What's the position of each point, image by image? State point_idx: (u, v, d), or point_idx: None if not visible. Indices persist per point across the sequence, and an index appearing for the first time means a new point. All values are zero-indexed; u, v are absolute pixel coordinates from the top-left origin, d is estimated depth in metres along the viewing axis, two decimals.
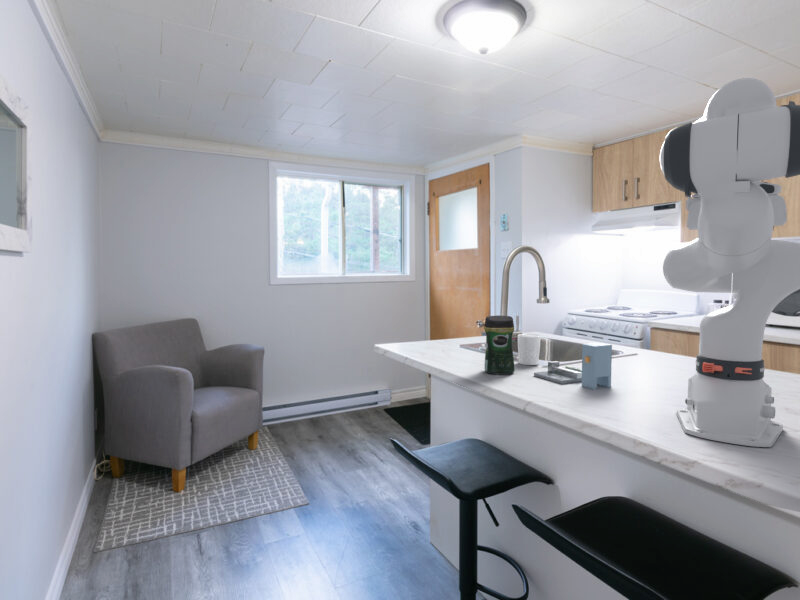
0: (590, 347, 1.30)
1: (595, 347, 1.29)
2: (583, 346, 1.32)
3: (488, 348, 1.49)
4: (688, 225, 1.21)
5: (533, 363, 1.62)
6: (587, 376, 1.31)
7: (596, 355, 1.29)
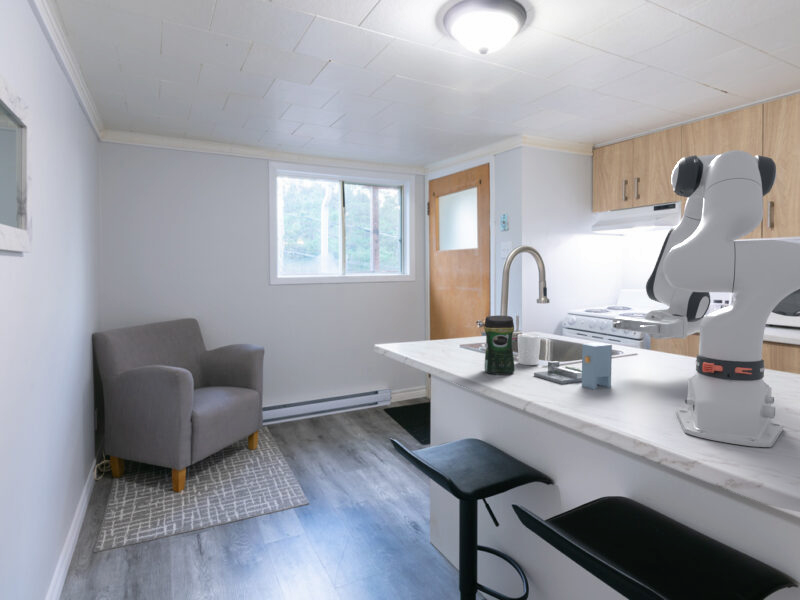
0: (590, 347, 1.30)
1: (595, 347, 1.29)
2: (583, 346, 1.32)
3: (488, 348, 1.49)
4: (614, 317, 1.48)
5: (533, 363, 1.62)
6: (587, 376, 1.31)
7: (596, 355, 1.29)
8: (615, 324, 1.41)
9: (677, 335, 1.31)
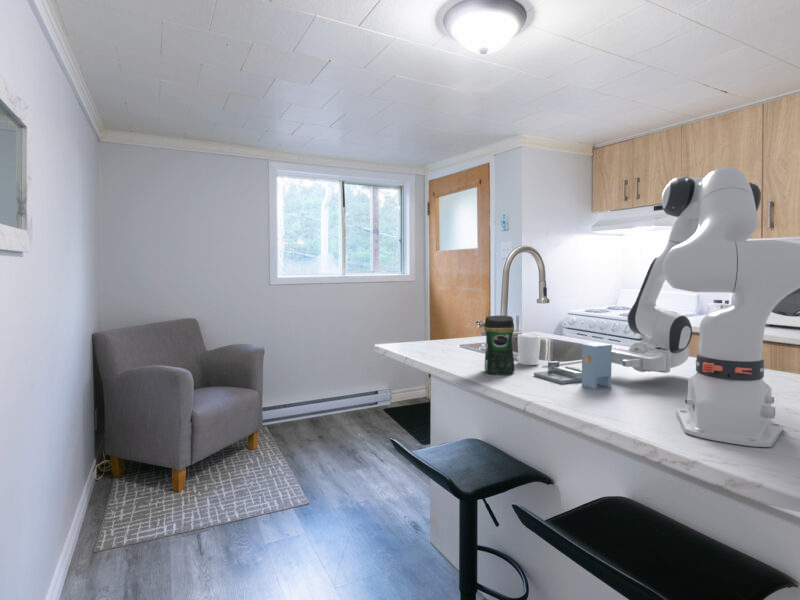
0: (590, 347, 1.30)
1: (595, 347, 1.29)
2: (583, 346, 1.32)
3: (488, 348, 1.49)
4: None
5: (533, 363, 1.62)
6: (587, 376, 1.31)
7: (596, 355, 1.29)
8: None
9: (660, 370, 1.29)
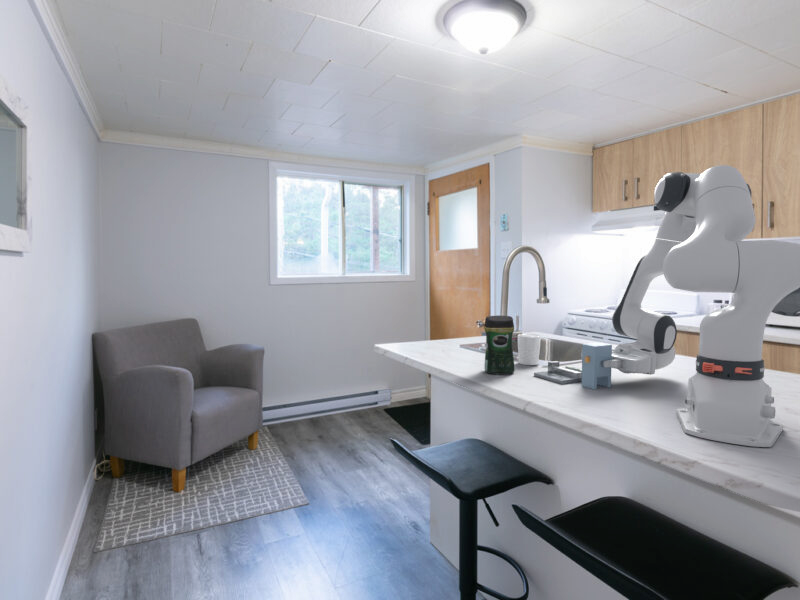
0: (590, 347, 1.30)
1: (595, 347, 1.29)
2: (583, 346, 1.32)
3: (488, 348, 1.49)
4: None
5: (533, 363, 1.62)
6: (587, 376, 1.31)
7: (596, 355, 1.29)
8: None
9: (644, 372, 1.26)
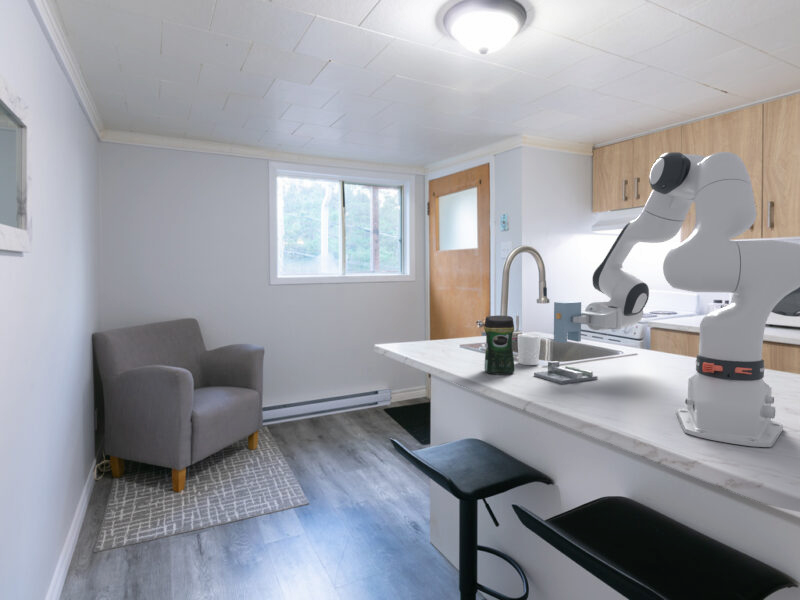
0: (561, 304, 1.40)
1: (565, 304, 1.39)
2: (555, 304, 1.42)
3: (488, 348, 1.49)
4: None
5: (533, 363, 1.62)
6: (558, 331, 1.42)
7: (566, 312, 1.39)
8: None
9: (610, 326, 1.36)
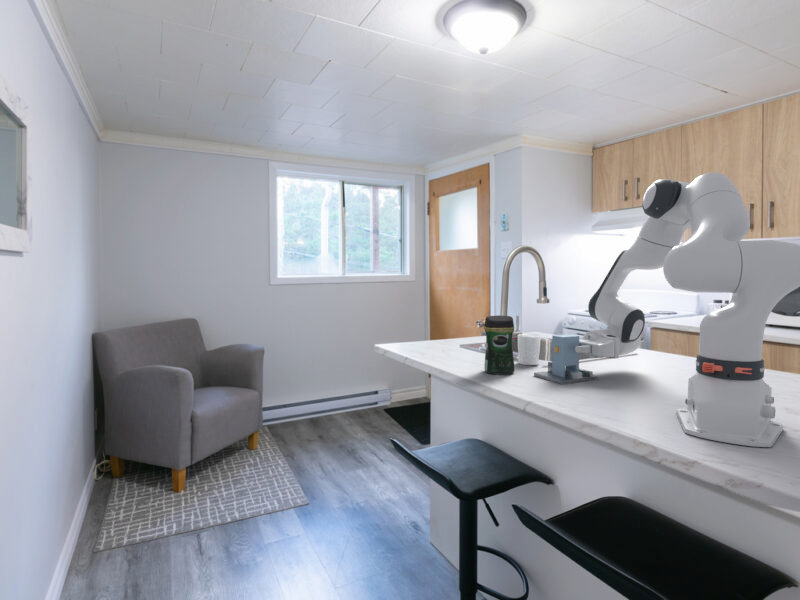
0: (559, 337, 1.41)
1: (563, 338, 1.39)
2: (553, 337, 1.43)
3: (488, 348, 1.49)
4: None
5: (533, 363, 1.62)
6: (556, 364, 1.42)
7: (564, 346, 1.40)
8: None
9: (608, 355, 1.37)
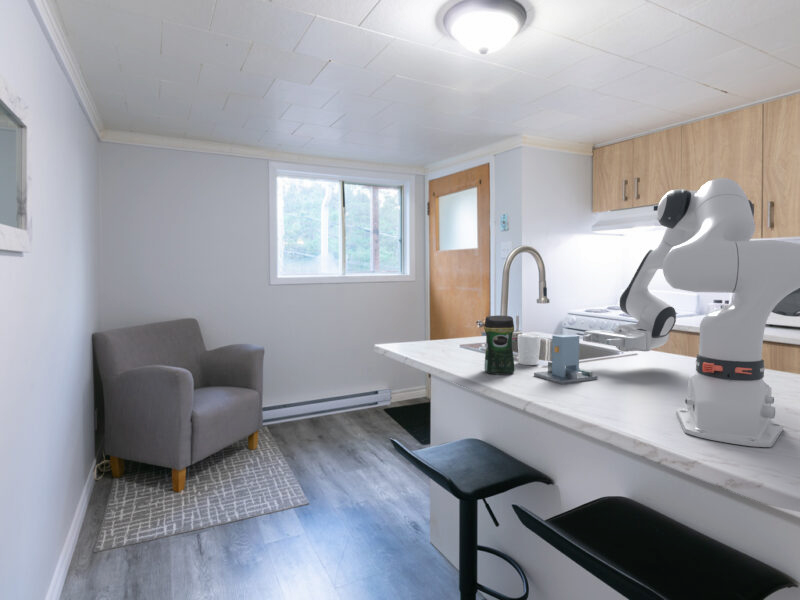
0: (559, 337, 1.41)
1: (563, 338, 1.39)
2: (553, 337, 1.43)
3: (488, 348, 1.49)
4: (586, 331, 1.58)
5: (533, 363, 1.62)
6: (556, 364, 1.42)
7: (564, 346, 1.40)
8: (585, 337, 1.51)
9: (640, 348, 1.42)
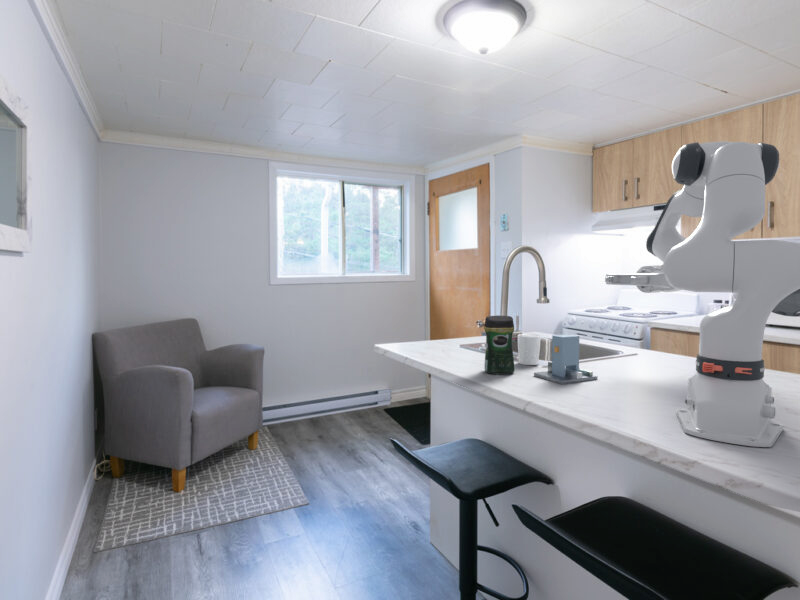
0: (559, 337, 1.41)
1: (563, 338, 1.39)
2: (553, 337, 1.43)
3: (488, 348, 1.49)
4: None
5: (533, 363, 1.62)
6: (556, 364, 1.42)
7: (564, 346, 1.40)
8: (607, 278, 1.48)
9: (665, 285, 1.39)
